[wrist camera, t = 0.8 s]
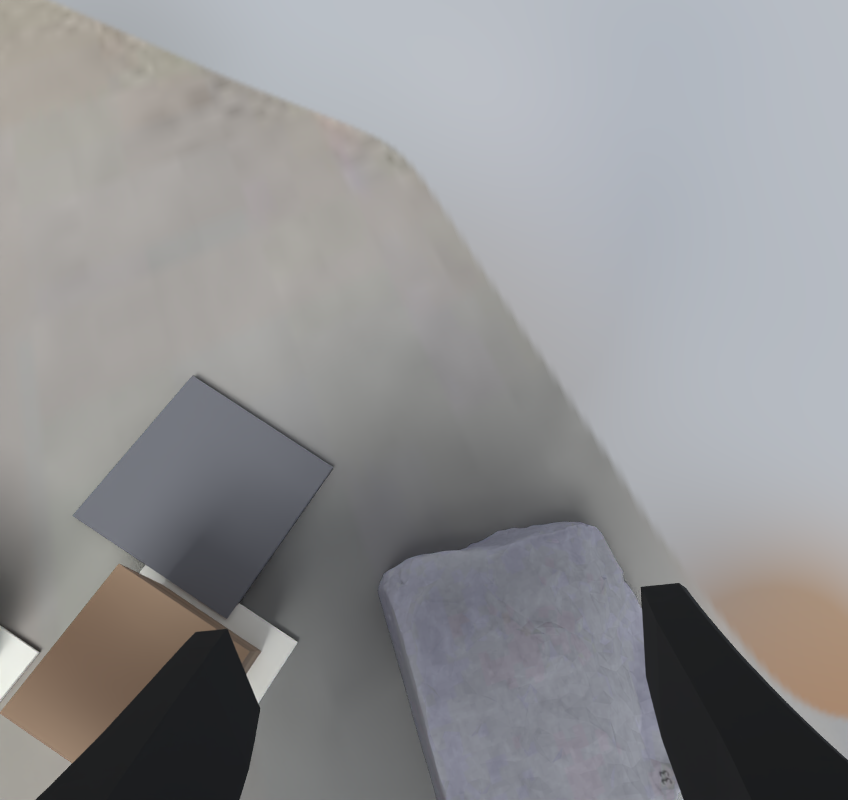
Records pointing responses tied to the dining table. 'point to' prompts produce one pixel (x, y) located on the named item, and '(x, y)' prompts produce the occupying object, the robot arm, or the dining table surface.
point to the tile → (13, 659)
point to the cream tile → (245, 636)
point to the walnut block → (108, 661)
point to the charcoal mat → (205, 495)
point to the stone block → (527, 669)
